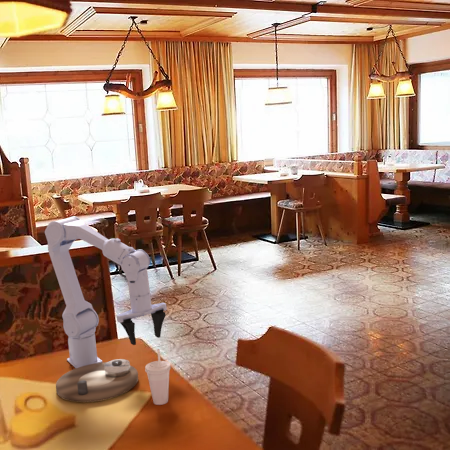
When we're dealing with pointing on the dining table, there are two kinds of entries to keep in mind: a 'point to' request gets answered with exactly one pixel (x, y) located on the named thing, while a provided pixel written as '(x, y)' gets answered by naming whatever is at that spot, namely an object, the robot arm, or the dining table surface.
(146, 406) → the dining table surface
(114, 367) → the cover
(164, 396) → the smoothie
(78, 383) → the turntable
